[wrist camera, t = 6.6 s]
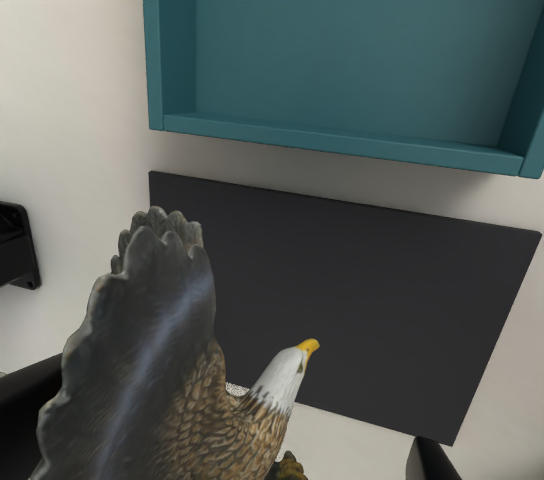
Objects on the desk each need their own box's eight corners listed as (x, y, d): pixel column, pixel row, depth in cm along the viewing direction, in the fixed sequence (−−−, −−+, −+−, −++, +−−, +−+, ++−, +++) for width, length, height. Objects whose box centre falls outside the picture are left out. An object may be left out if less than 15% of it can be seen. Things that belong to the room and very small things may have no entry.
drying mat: (161, 359, 26) (158, 362, 25) (151, 170, 20) (148, 171, 20) (451, 441, 21) (452, 447, 21) (539, 231, 16) (542, 234, 16)
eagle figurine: (503, 466, 8) (286, 111, 5) (361, 1040, 4) (-1003, 1206, 1) (286, 381, 14) (128, 202, 11) (153, 588, 10) (-143, 411, 7)
